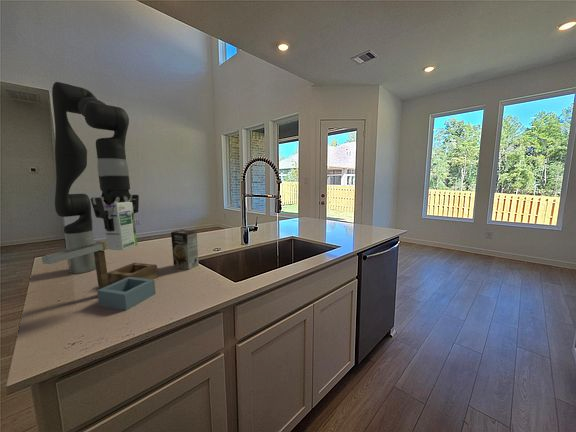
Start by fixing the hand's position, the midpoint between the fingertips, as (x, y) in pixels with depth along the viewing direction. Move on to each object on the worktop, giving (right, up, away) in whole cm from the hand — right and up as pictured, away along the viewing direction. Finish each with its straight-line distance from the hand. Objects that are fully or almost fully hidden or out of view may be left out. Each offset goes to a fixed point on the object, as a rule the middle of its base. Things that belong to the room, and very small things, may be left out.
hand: (120, 228), depth 76 cm
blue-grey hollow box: (0, -23, +4) cm, 24 cm away
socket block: (-8, -22, +15) cm, 27 cm away
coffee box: (+7, -19, +33) cm, 39 cm away
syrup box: (0, -6, +1) cm, 6 cm away
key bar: (-12, -8, -1) cm, 15 cm away
